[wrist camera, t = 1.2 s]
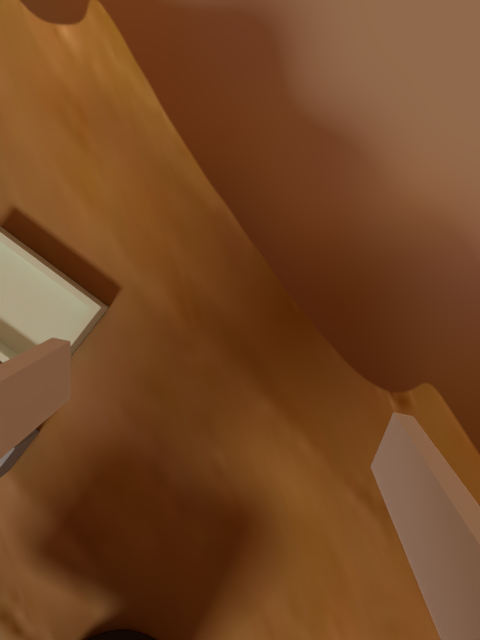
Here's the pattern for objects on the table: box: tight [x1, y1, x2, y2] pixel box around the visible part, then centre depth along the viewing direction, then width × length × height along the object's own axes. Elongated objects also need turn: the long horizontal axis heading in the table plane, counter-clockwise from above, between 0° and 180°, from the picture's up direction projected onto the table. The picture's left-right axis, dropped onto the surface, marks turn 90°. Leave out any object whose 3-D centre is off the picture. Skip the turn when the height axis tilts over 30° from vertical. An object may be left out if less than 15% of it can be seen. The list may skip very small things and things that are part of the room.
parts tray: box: [0, 227, 109, 362], centre depth 35 cm, size 12×16×2 cm
